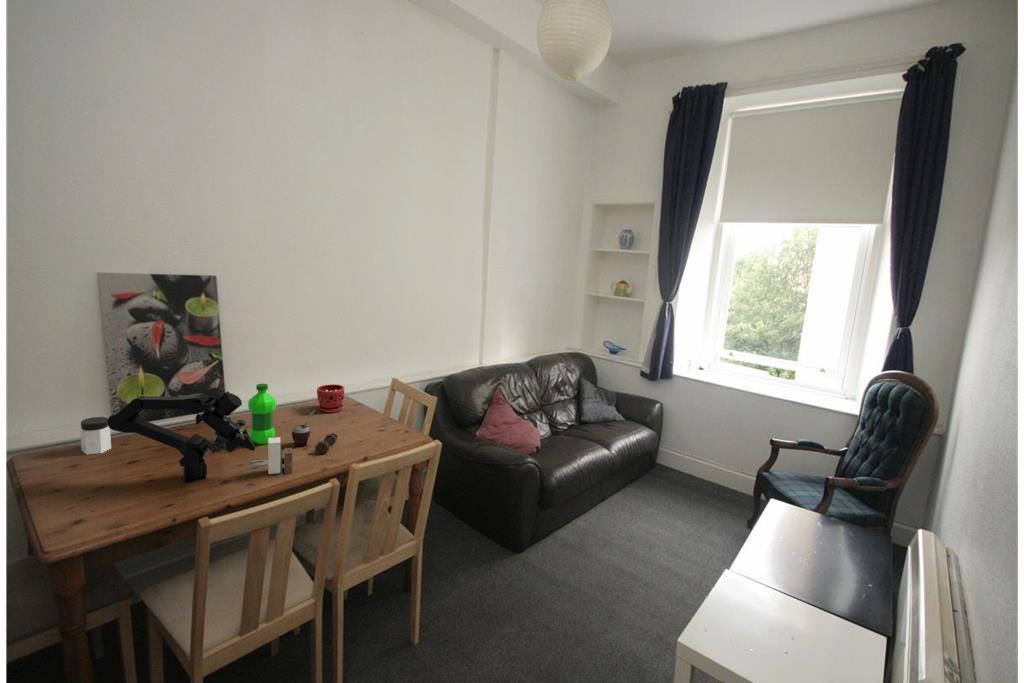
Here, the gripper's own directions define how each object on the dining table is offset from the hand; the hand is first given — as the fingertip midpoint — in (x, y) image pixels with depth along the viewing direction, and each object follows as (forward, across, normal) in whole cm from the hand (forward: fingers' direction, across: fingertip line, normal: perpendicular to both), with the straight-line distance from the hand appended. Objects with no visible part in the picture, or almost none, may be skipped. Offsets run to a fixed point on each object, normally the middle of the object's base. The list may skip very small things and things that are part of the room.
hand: (254, 449), depth 186 cm
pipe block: (+14, 0, +1) cm, 14 cm away
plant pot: (+30, -66, +18) cm, 75 cm away
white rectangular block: (+11, 0, -2) cm, 12 cm away
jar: (-31, -36, -46) cm, 66 cm away
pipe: (+8, 0, -1) cm, 8 cm away
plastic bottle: (+9, -30, -5) cm, 32 cm away
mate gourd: (+19, -24, +6) cm, 31 cm away
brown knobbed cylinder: (+26, -19, +13) cm, 35 cm away
